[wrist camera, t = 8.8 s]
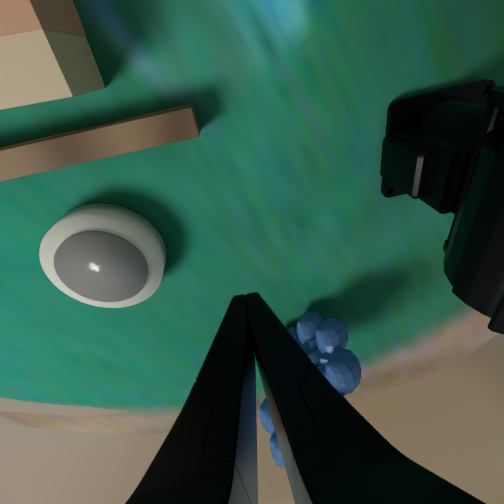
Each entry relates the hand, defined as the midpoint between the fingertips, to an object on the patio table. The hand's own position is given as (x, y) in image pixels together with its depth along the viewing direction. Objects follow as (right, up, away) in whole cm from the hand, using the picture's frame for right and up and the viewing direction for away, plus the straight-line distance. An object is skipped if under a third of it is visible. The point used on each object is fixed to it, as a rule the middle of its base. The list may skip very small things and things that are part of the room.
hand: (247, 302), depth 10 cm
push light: (-10, +2, +12) cm, 16 cm away
